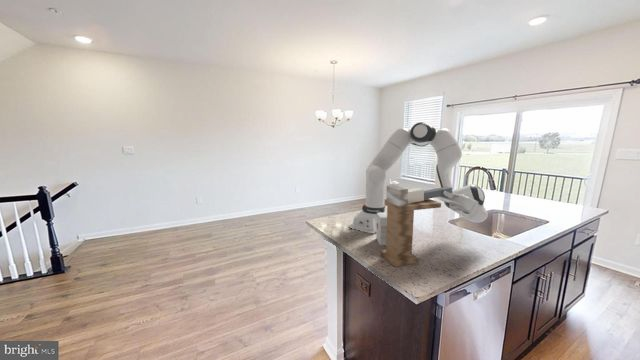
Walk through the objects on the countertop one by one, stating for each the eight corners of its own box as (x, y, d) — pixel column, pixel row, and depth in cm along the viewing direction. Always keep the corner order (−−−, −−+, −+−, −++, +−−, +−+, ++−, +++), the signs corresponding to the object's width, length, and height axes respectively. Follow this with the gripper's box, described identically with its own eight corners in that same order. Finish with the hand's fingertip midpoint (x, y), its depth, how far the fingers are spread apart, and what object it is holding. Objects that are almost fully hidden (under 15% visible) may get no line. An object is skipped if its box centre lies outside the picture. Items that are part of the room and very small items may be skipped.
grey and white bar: (445, 192, 115) (445, 181, 114) (454, 194, 110) (454, 183, 109) (401, 200, 109) (400, 190, 108) (408, 203, 104) (407, 192, 103)
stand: (419, 248, 120) (423, 182, 115) (437, 259, 109) (442, 187, 104) (379, 254, 114) (381, 185, 109) (394, 266, 103) (396, 190, 98)
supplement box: (375, 238, 133) (376, 212, 131) (392, 238, 133) (393, 212, 130) (379, 245, 124) (380, 217, 122) (397, 245, 124) (398, 217, 121)
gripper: (446, 193, 125) (427, 181, 121) (482, 202, 105) (460, 188, 101) (440, 203, 125) (421, 192, 121) (475, 215, 106) (453, 202, 101)
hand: (439, 190), depth 111 cm, fingers closed on grey and white bar, 3 cm apart
